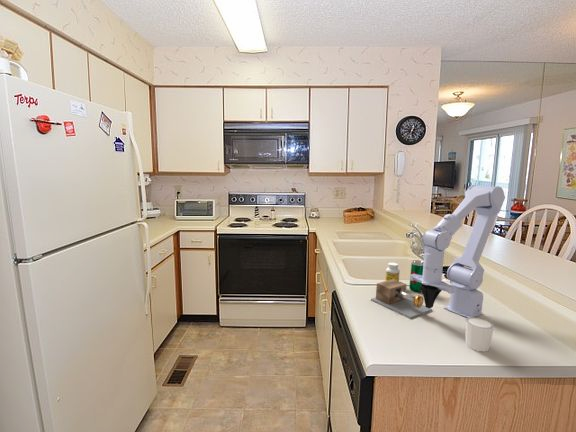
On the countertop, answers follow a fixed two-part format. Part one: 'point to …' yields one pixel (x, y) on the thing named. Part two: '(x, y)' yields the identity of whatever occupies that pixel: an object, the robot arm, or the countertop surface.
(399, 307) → the base plate
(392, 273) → the supplement bottle
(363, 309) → the countertop surface
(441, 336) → the countertop surface
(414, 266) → the soda can
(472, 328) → the white cup
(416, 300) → the shaft
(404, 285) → the bearing block
